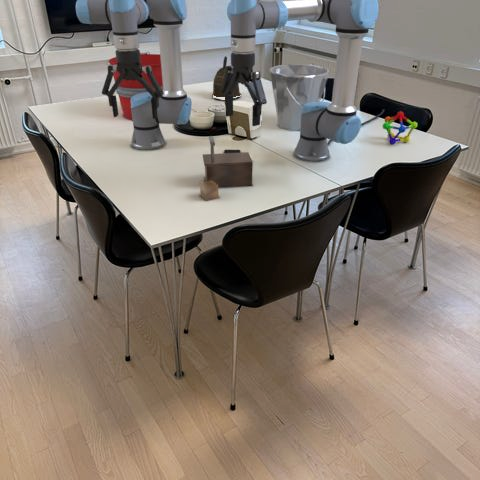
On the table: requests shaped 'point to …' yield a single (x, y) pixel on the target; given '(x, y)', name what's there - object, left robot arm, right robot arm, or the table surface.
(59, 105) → the table surface
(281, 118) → the bucket
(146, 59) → the bucket
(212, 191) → the block
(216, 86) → the bell
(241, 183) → the chest
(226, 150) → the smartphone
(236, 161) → the lid
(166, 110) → the left robot arm
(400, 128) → the educational toy
